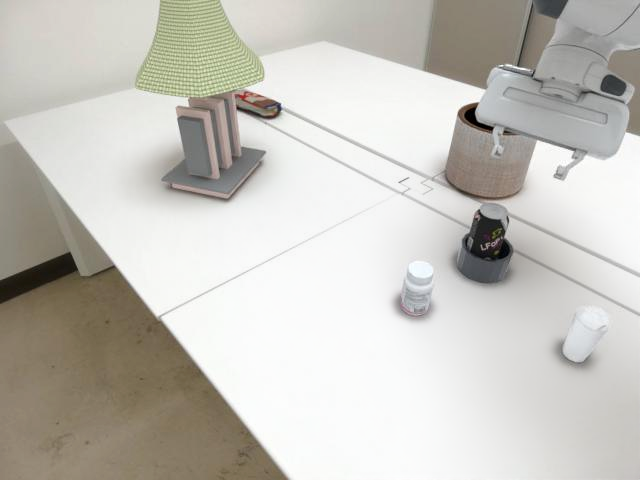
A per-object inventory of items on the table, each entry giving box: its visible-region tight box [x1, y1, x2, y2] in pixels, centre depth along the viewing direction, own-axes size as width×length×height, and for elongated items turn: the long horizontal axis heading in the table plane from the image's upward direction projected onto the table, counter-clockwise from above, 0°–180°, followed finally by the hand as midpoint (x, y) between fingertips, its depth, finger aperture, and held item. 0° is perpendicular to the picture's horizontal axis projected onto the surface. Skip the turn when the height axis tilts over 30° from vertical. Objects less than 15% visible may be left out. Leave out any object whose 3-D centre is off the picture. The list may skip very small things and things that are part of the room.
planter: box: [444, 101, 538, 199], centre depth 103 cm, size 18×18×16 cm
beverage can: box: [466, 202, 510, 260], centre depth 80 cm, size 6×6×12 cm
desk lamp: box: [134, 0, 267, 200], centre depth 97 cm, size 26×28×40 cm
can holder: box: [456, 232, 515, 284], centre depth 83 cm, size 9×9×5 cm
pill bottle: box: [399, 260, 435, 316], centre depth 74 cm, size 5×5×8 cm
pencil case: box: [234, 89, 283, 117], centre depth 137 cm, size 11×20×5 cm, turn 39°
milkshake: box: [561, 304, 613, 363], centre depth 66 cm, size 4×5×10 cm
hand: (526, 168), depth 68 cm, fingers open, 8 cm apart
